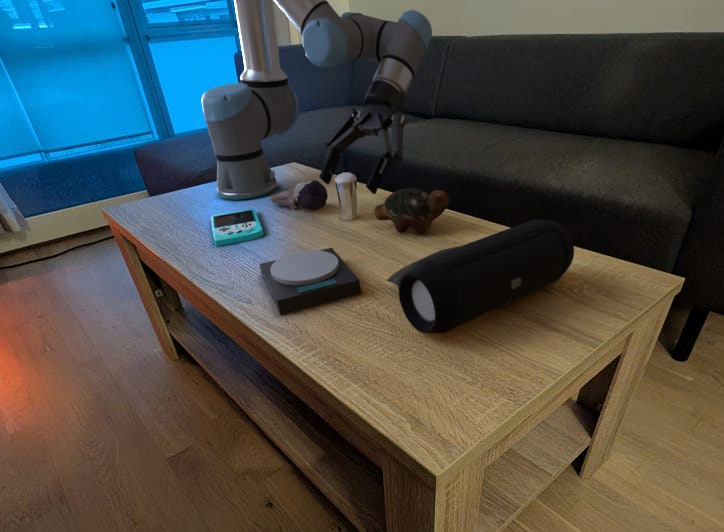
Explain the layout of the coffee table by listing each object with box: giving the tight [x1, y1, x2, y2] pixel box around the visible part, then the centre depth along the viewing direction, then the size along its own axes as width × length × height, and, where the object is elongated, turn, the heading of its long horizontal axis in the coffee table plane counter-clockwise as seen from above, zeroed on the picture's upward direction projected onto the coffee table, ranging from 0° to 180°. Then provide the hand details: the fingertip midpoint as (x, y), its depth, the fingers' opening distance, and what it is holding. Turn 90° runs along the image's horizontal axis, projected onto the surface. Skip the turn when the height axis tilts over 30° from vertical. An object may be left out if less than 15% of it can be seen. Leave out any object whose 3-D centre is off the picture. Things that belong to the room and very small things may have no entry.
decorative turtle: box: [373, 187, 450, 236], centre depth 88 cm, size 10×15×8 cm, turn 76°
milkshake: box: [329, 170, 358, 221], centre depth 94 cm, size 4×5×10 cm
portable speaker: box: [398, 218, 575, 335], centre depth 62 cm, size 26×10×10 cm, turn 124°
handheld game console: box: [210, 208, 264, 247], centre depth 96 cm, size 10×16×1 cm, turn 20°
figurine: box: [270, 179, 329, 212], centre depth 102 cm, size 10×6×15 cm
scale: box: [258, 247, 362, 316], centre depth 73 cm, size 14×13×3 cm
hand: (346, 185), depth 93 cm, fingers open, 13 cm apart
